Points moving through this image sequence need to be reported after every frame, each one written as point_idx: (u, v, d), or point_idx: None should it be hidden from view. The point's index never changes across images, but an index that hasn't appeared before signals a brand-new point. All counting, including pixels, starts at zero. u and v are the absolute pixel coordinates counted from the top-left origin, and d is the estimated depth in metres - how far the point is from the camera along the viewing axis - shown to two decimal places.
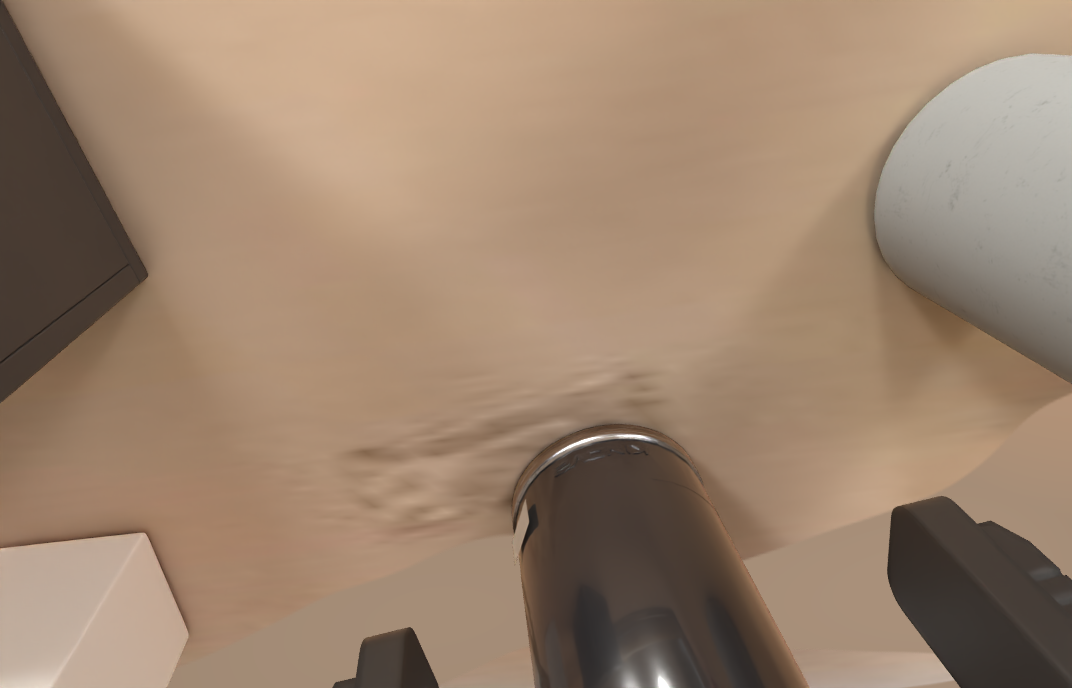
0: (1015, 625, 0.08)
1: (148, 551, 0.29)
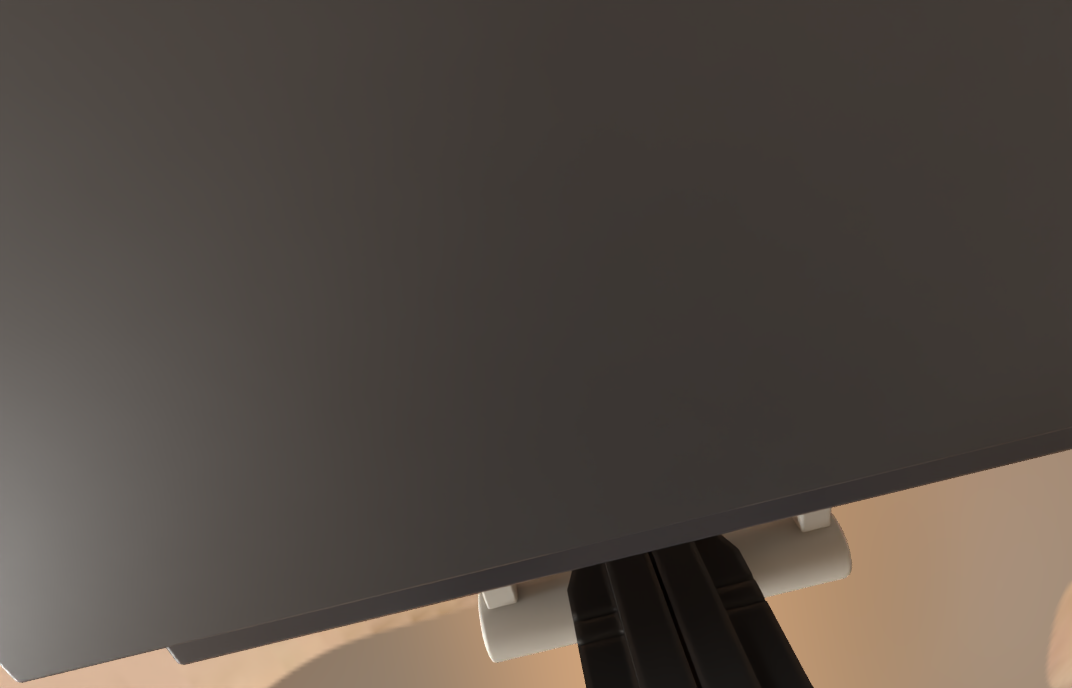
0: (681, 625, 0.09)
1: None
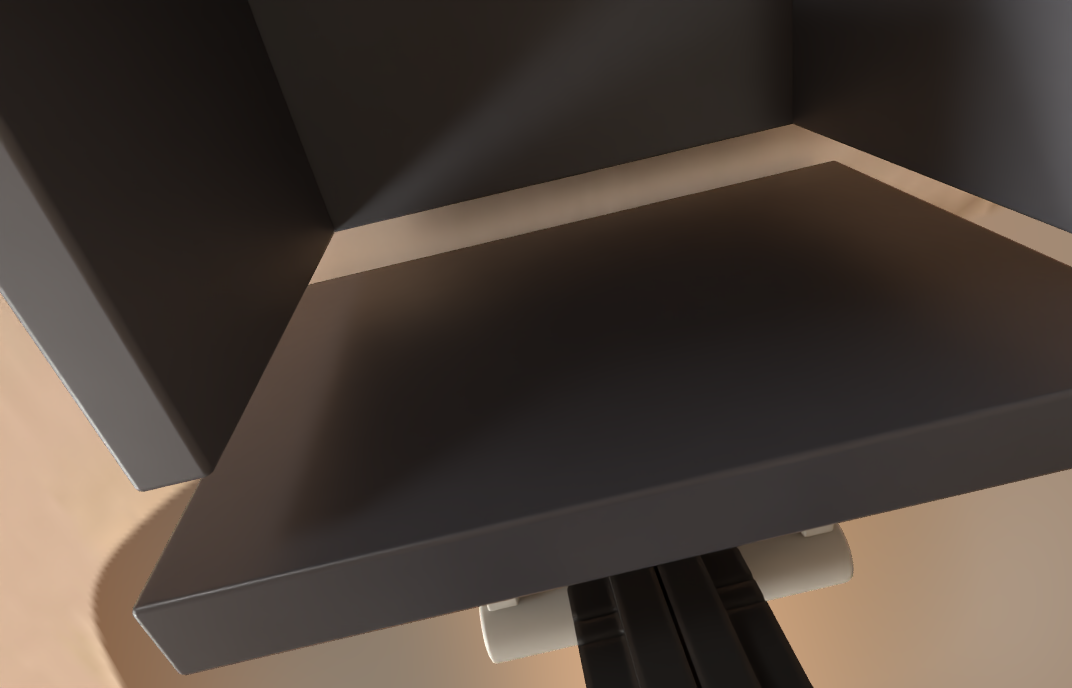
0: (681, 625, 0.09)
1: None
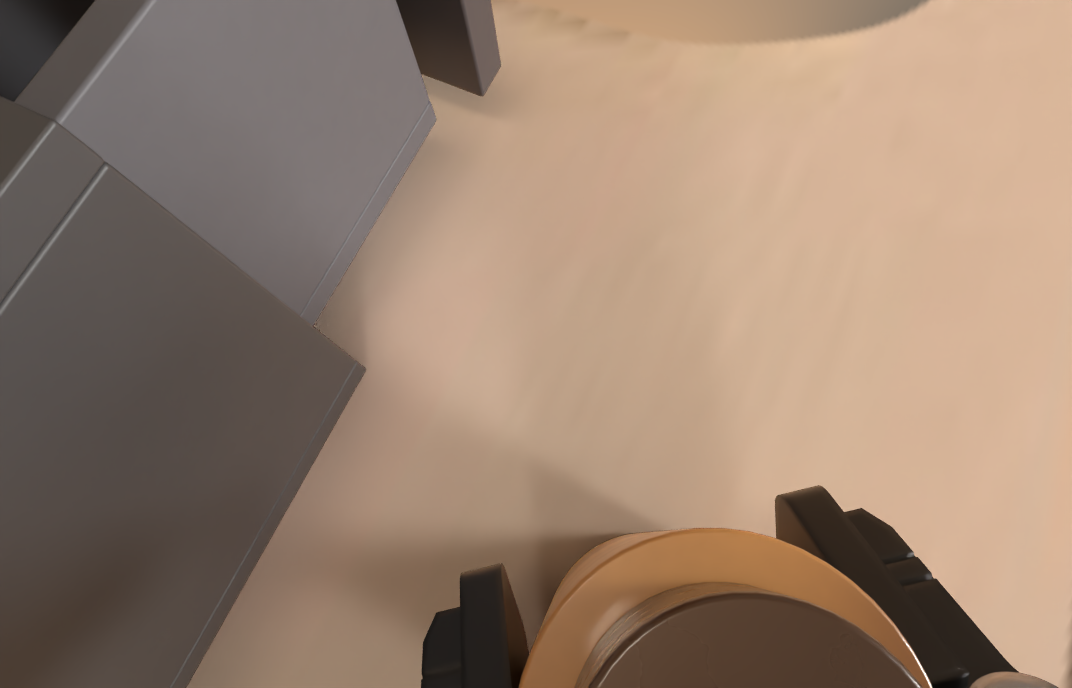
0: None
1: None
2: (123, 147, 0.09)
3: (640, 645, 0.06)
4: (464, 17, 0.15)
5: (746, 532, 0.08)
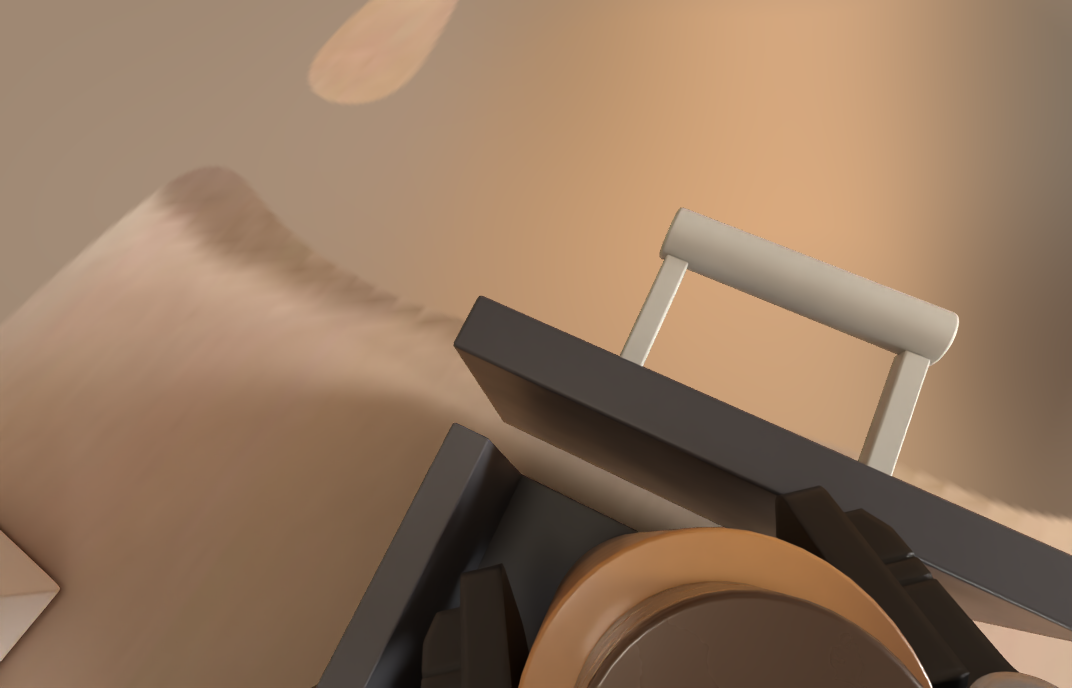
0: None
1: None
2: None
3: (640, 644, 0.06)
4: None
5: (746, 531, 0.08)
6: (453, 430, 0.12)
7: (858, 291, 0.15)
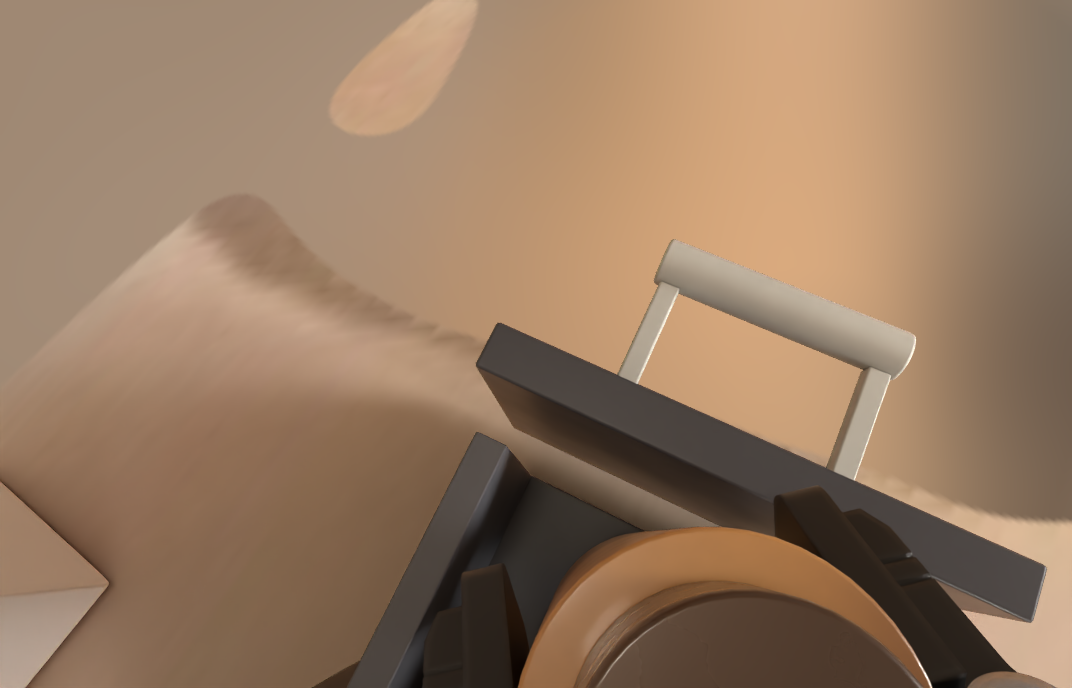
0: None
1: None
2: None
3: (640, 643, 0.06)
4: None
5: (746, 531, 0.08)
6: (476, 438, 0.14)
7: (828, 315, 0.17)
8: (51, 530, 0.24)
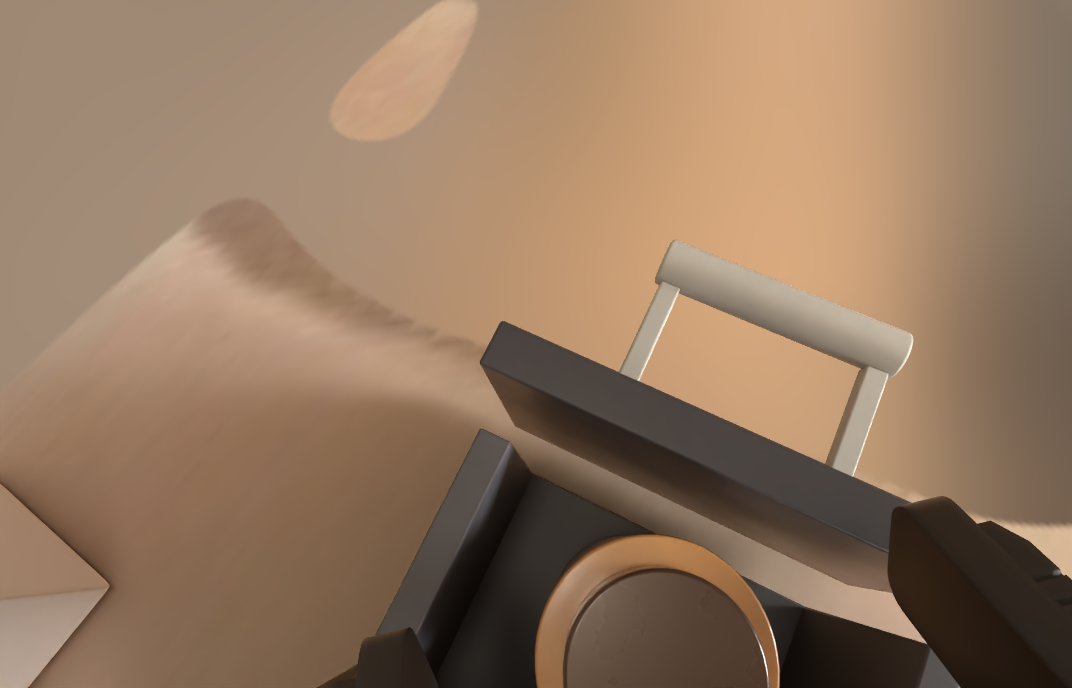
0: (1015, 626, 0.08)
1: None
2: None
3: (604, 596, 0.12)
4: None
5: (669, 537, 0.13)
6: (480, 435, 0.15)
7: (826, 314, 0.18)
8: (52, 533, 0.24)
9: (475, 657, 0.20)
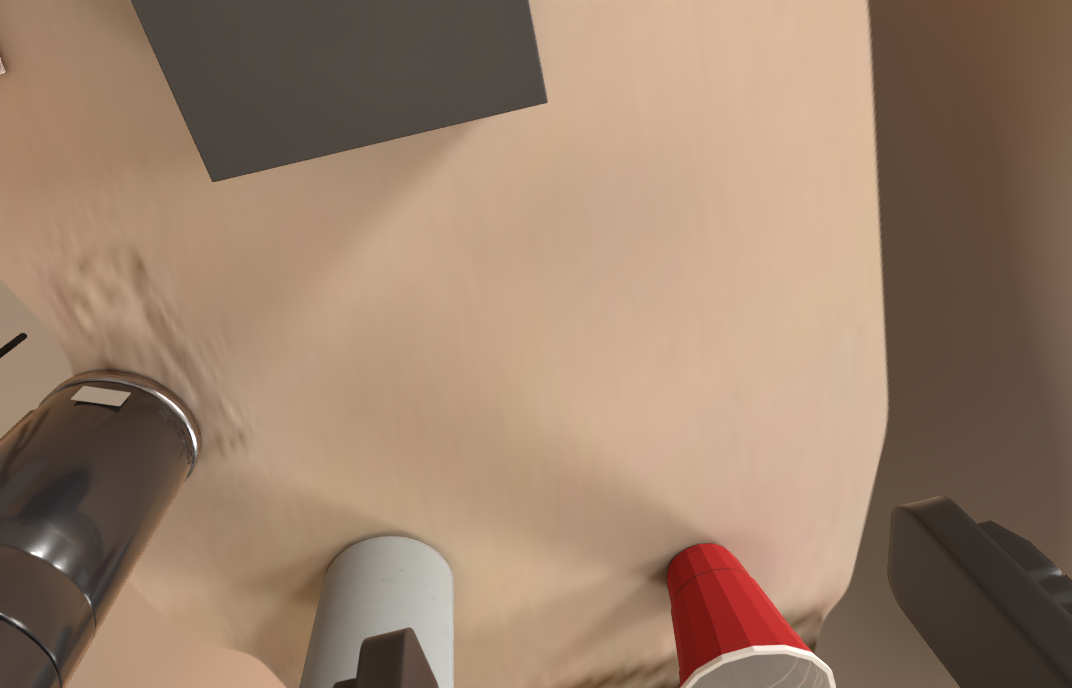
0: (1015, 625, 0.08)
1: None
2: None
3: None
4: None
5: None
6: None
7: None
8: None
9: None
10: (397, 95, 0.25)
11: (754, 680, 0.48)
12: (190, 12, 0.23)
